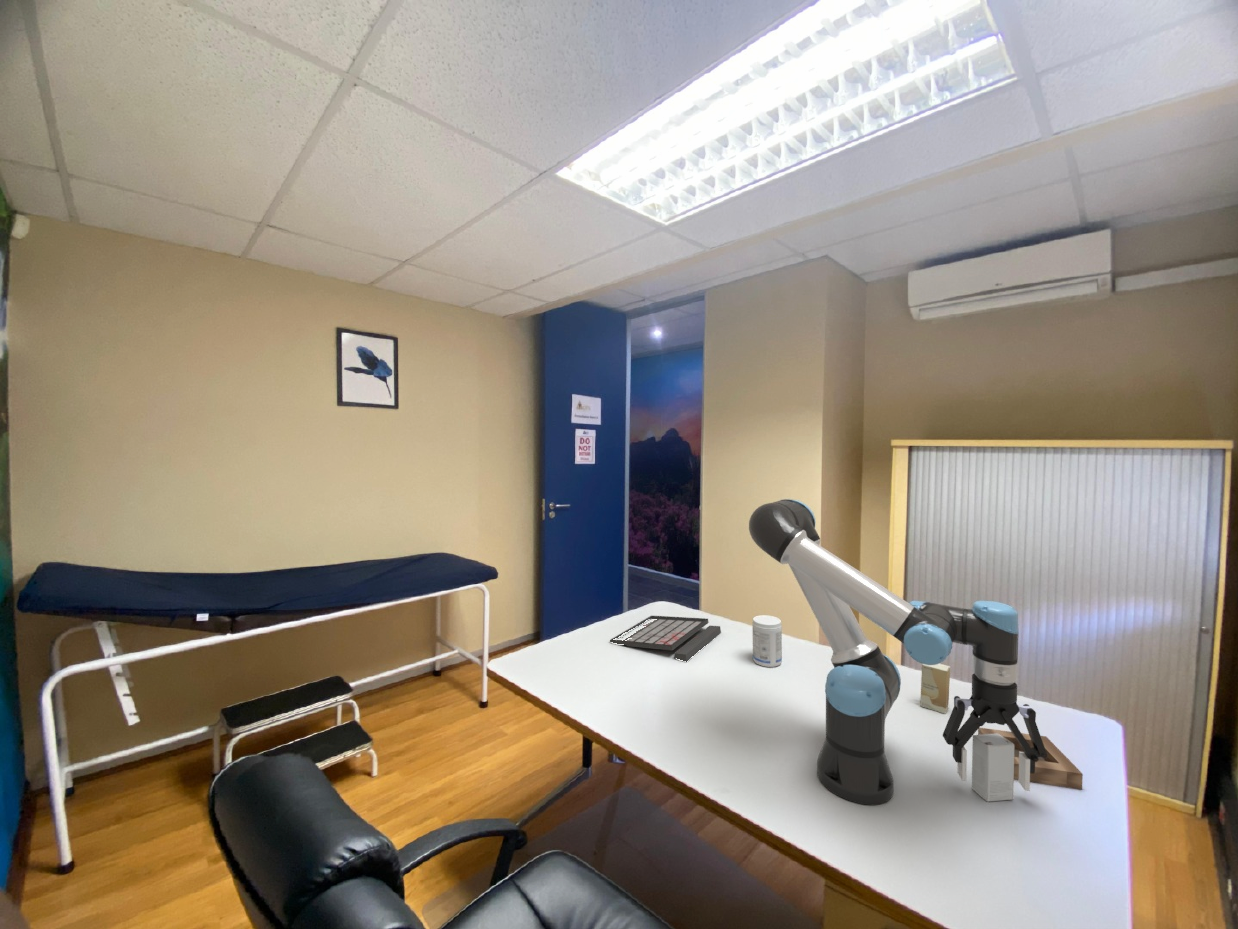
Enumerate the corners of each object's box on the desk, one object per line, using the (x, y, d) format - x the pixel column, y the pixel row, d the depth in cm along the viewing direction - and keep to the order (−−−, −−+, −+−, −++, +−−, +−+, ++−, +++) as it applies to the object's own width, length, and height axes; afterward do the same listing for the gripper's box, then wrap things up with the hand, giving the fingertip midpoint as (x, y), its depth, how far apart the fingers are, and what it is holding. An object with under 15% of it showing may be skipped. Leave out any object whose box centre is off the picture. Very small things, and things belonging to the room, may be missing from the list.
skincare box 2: (996, 786, 105) (997, 731, 105) (1015, 801, 101) (1016, 744, 101) (969, 788, 105) (970, 733, 104) (987, 803, 100) (988, 746, 100)
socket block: (1004, 777, 108) (1004, 762, 108) (977, 741, 122) (978, 727, 121) (1082, 789, 104) (1082, 773, 104) (1045, 750, 118) (1046, 736, 118)
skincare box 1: (919, 706, 138) (920, 664, 138) (923, 700, 141) (923, 659, 141) (946, 715, 134) (947, 670, 133) (949, 708, 137) (950, 665, 136)
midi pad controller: (612, 658, 185) (687, 667, 168) (609, 640, 185) (684, 647, 168) (653, 627, 211) (721, 632, 194) (650, 611, 211) (719, 615, 194)
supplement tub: (772, 654, 173) (772, 613, 173) (787, 666, 164) (787, 623, 163) (747, 657, 171) (747, 616, 170) (761, 669, 162) (761, 625, 161)
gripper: (937, 679, 102) (936, 783, 102) (1072, 694, 95) (1069, 805, 96) (925, 663, 109) (924, 761, 110) (1050, 676, 102) (1048, 780, 103)
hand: (992, 781), depth 103 cm, fingers open, 10 cm apart
